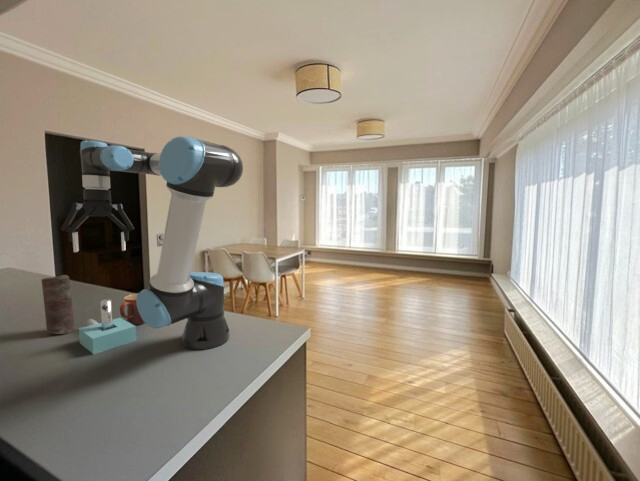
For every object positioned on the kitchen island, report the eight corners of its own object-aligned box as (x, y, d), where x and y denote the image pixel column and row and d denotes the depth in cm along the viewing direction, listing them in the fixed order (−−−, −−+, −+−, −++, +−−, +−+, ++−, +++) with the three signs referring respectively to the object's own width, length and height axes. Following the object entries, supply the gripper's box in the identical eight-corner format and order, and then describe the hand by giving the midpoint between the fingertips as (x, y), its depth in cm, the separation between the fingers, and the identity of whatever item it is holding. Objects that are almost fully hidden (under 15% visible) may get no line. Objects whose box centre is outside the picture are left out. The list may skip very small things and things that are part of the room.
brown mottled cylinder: (43, 338, 100) (37, 279, 98) (50, 329, 106) (45, 274, 104) (72, 334, 103) (67, 277, 101) (77, 326, 110) (73, 272, 107)
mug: (137, 316, 120) (136, 292, 119) (156, 319, 118) (155, 294, 117) (111, 328, 108) (110, 301, 107) (132, 331, 107) (130, 303, 106)
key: (104, 338, 100) (102, 298, 99) (115, 337, 102) (113, 297, 100) (100, 346, 95) (97, 304, 94) (111, 345, 96) (109, 303, 95)
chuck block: (136, 340, 100) (135, 326, 99) (93, 354, 90) (92, 338, 90) (109, 323, 113) (108, 311, 112) (69, 334, 103) (68, 320, 102)
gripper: (141, 191, 110) (143, 248, 112) (54, 187, 99) (59, 250, 102) (138, 190, 103) (140, 251, 106) (44, 186, 93) (50, 254, 95)
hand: (100, 251), depth 104 cm, fingers open, 13 cm apart
